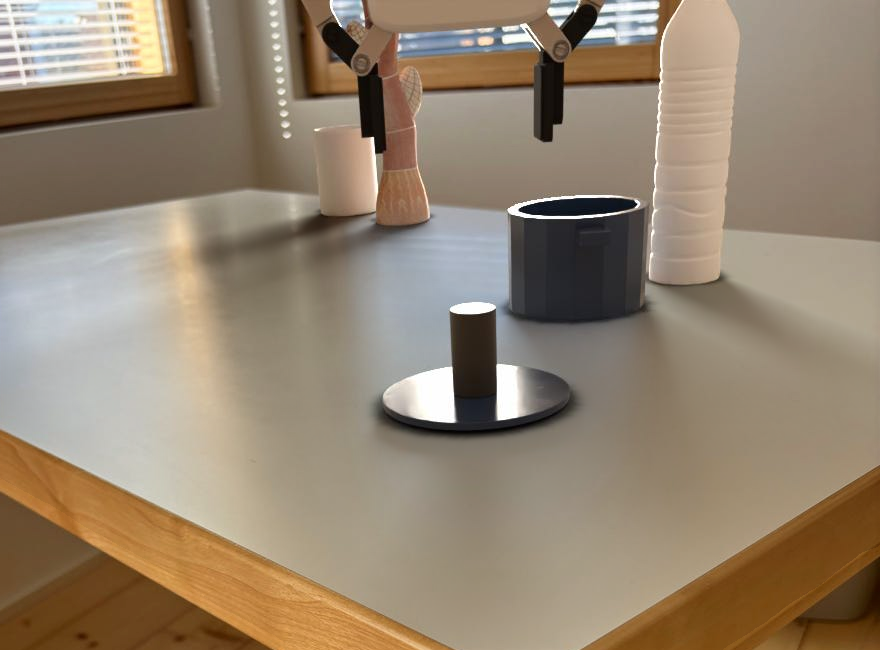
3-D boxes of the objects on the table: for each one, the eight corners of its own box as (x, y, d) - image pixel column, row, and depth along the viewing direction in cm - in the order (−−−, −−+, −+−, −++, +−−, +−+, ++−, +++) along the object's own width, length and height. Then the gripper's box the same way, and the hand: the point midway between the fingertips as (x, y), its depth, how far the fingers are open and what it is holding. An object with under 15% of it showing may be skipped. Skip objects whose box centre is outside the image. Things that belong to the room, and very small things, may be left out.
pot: (621, 283, 98) (625, 187, 94) (664, 328, 84) (671, 217, 79) (500, 292, 99) (498, 197, 94) (522, 338, 84) (521, 228, 80)
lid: (554, 373, 75) (555, 280, 72) (584, 431, 64) (587, 325, 61) (382, 386, 75) (375, 293, 72) (384, 446, 65) (375, 340, 61)
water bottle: (716, 288, 94) (743, -38, 81) (643, 287, 96) (659, -30, 84) (724, 268, 101) (750, -35, 88) (656, 268, 103) (673, -28, 91)
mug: (387, 211, 147) (381, 126, 141) (329, 218, 145) (321, 132, 139) (362, 202, 157) (356, 121, 151) (308, 208, 155) (300, 127, 149)
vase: (421, 213, 143) (407, -44, 128) (442, 220, 137) (430, -50, 122) (350, 223, 140) (327, -40, 125) (368, 230, 134) (346, -45, 119)
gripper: (607, -225, 55) (596, 130, 64) (286, -202, 55) (318, 149, 64) (639, -258, 49) (621, 141, 57) (275, -232, 49) (312, 163, 58)
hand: (461, 145), depth 61 cm, fingers open, 9 cm apart
